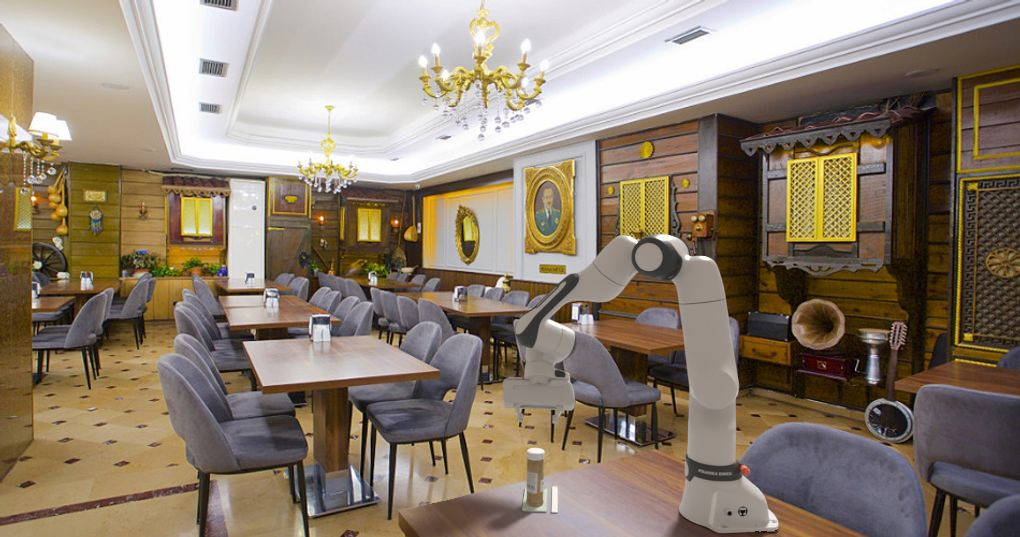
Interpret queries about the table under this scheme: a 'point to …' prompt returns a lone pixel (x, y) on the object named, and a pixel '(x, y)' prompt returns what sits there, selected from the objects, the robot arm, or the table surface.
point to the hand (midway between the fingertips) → (537, 421)
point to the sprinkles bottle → (535, 476)
